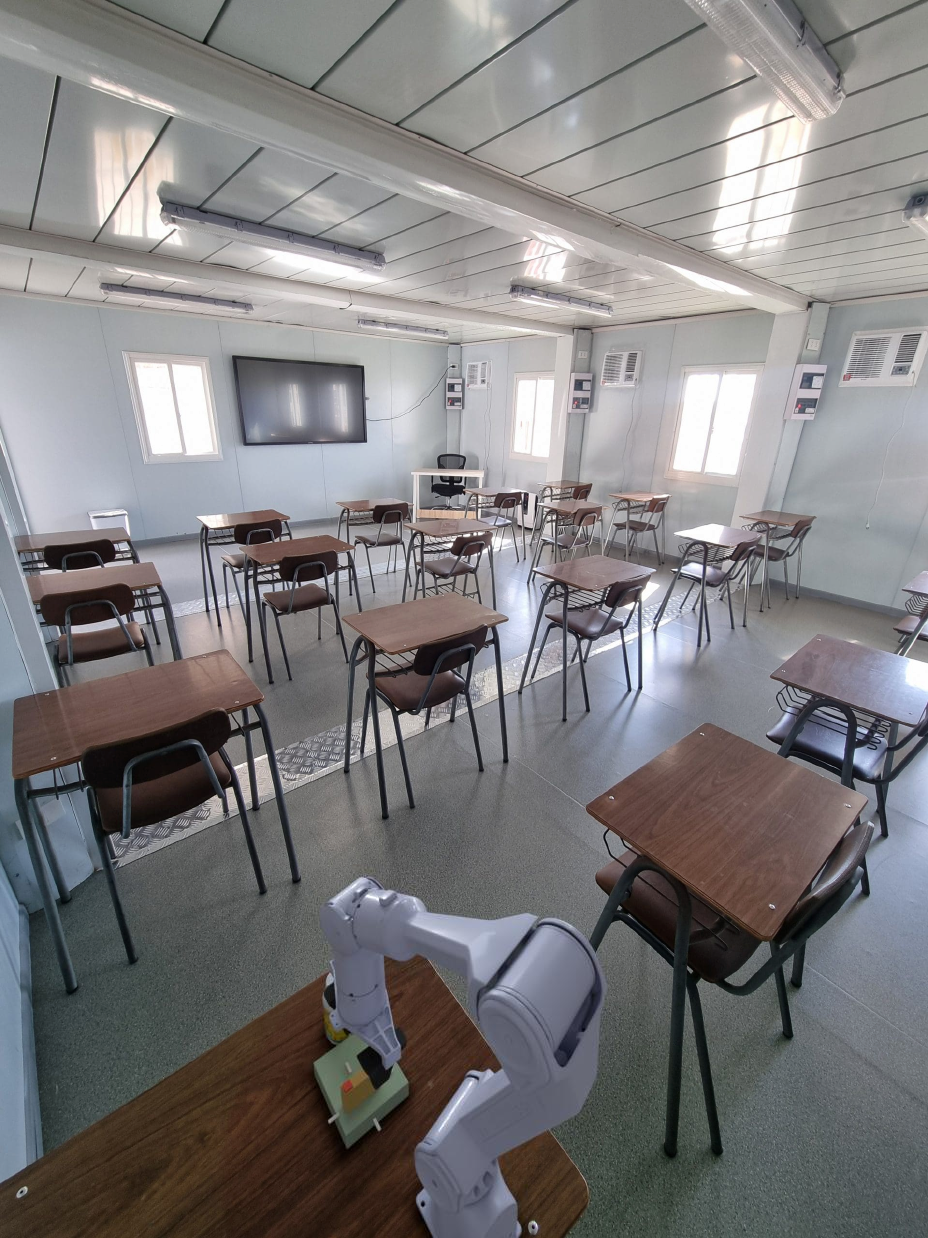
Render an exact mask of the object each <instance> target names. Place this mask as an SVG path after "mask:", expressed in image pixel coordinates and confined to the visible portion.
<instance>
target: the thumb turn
mask: <svg viewBox="0 0 928 1238" xmlns="http://www.w3.org/2000/svg"><path fill="white" fill-rule="evenodd" d="M340 1087H341V1098H342V1106H343V1108H344V1110H345V1112H346V1114H348V1113H349V1112H350V1111H351V1110H352V1109H354V1108H355V1107H356V1106H357V1105H359V1104H360V1103H361V1102H362V1101H363V1100H365V1099H366V1098H367V1097H368V1096H370V1095H371V1094H372V1093H373V1092H374V1091H376V1090H375V1089H374V1087H373V1085H372V1083H371V1081H370V1078H369V1076H368V1075H367V1074H366V1073H365V1072H364V1070H363V1069H362V1070H360V1071H359V1072H358V1073H356V1074H355V1075H354V1076H352V1077H351V1078H350V1079H349V1080H347V1081H346V1082H345V1083H343V1084H342V1085H341V1086H340ZM380 1087H381V1086H380Z"/></svg>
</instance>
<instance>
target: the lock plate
mask: <svg viewBox="0 0 928 1238" xmlns="http://www.w3.org/2000/svg"><path fill="white" fill-rule="evenodd" d="M368 1046H369V1045H368V1044H366V1043H365V1042H364V1041H362V1040H361V1039H360V1038H358V1037H357V1036H356V1035H354V1034H352V1035H351V1036H350V1037H348V1038H347V1039H345V1040H344V1041H343V1042H341V1043H340V1044H339V1045H336V1046H335V1047H333V1048H331V1050H329V1051H328V1052H326V1053H324V1055H322V1056H321V1057H320V1058H318V1059H317V1060H315V1061H314V1062H313V1063H312V1064H313V1073H314V1077H315V1080H316V1081H317V1084H318V1086H319V1088H320V1091H321V1093H322V1094H323V1097H324V1100H325V1102H326V1104H327V1106H328V1109H329V1112H330V1114H331V1116H332V1117H330V1118H329V1119H328V1120H327V1122H328V1124H329V1125H331V1124H332V1123H333V1122H334V1123H335V1125H336V1127H337V1130H338V1132H339V1134H340V1137H341V1139H342V1141H343V1143H344V1145H345V1148H346V1149H349V1148H350V1147H352V1145H354V1144H355V1143H356V1142H357V1141H358V1140H360V1139H361V1138H362V1137H363V1136H364V1135H365V1134H366V1133H367V1132H369V1130H371V1129H372V1128H374V1126H375V1128H376V1129H377V1132H380V1131H381V1130H382V1128H381V1126H380V1123H379V1122H380V1121H381V1120H382V1119H384V1117H386V1116H387V1115H388V1114H389V1113H391V1112H392V1111H393V1110H394V1109H395V1108H396V1107H397V1106H398V1105H399V1104H401V1103H402V1102H403V1101H404V1100H405V1099H406V1098H408V1097H409V1095H410V1091H409V1090H410V1089H409V1086H410V1085H409V1081H408V1079H407V1077H406V1076H405V1074H404V1072H403V1071H402V1069H401V1067H400V1066H399V1064H398V1061H397V1062H396V1063H395V1064H394V1065H393V1068H392V1071H391V1075H390V1078H389V1080H388V1081H386V1082H385V1083H384V1084H383V1085H382V1086H381V1087H379V1088H378V1089H377V1090H376V1091H374V1092H373V1093H372V1094H371V1095H370V1096H368V1097H367V1098H366V1099H365V1100H363V1101H362V1102H361V1103H360V1104H359V1105H357V1106H356V1107H355V1108H354V1109H352V1110H351V1111H350V1112H349V1113H348V1114H346V1112H345V1110H344V1108H343V1106H342V1098H341V1087H340V1086H341V1085H342V1084H343V1083H345V1082H346V1081H347V1080H349V1079H350V1078H351V1077H352V1076H354V1075H355V1074H356V1073H358V1072H359V1071H360V1070H362V1067H361V1065H360V1063H359V1061H358V1059H357V1055H358V1054H359V1053H360V1052H362V1051H363V1050H364V1049H365V1048H367V1047H368Z"/></svg>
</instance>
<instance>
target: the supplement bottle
mask: <svg viewBox="0 0 928 1238" xmlns="http://www.w3.org/2000/svg"><path fill="white" fill-rule="evenodd" d="M333 982H334V978H333V976H332V975H331V973H330V972H329V973H328V975H327V977H326V979H325V988H326V987H327V986H328V985H330V984H331V983H333ZM325 988H324V989H325ZM321 999H322V1008H323V1019H324V1029H325V1035H326V1037H327V1039H328V1040H329V1042H330V1043H331V1044H333V1045H336V1046H337V1045H339V1044H340V1043H341V1042H343V1041H344V1040H345V1039H347V1038H348V1037H350V1036H351V1035H352V1034H353V1033H352V1032H351V1033H350V1034H349V1035H347V1036H346V1035H345V1033H344V1031H343V1029H341V1030H340V1031H338V1032H337V1031H334V1029H333V1027H332V1025H331V1023H330V1020H329V1016H330V1014H331V1013H332V1012H333V1011H334V1009H332V1008H331V1007H330V1006H329V1005H328V1003H327V1001H326V999H325V997H324V991H323V992H322V998H321Z"/></svg>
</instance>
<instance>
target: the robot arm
mask: <svg viewBox="0 0 928 1238" xmlns="http://www.w3.org/2000/svg"><path fill="white" fill-rule="evenodd" d="M427 909H428V908H427V907H426V905H425V903H424V902H423V901H422V900H421V899H419V897H416V896H413V895H408V894H404V893H399V892H397V891H396V890H391V889H388V890H385V888H384V887H383V886H382V885H381V884H380V882H379V881H377V879H375V878H373V877H371V876H367V877H363V876H360V877H358V878H356V879H355V880H354V881H353V882H351V883H350V884H349V885H347V886H346V887H345V888H344V889H342V890H341V891H339V893H337V894H335V896H333V897H332V898H331V899H330V900H328V901H326V902H325V904H324V906H322V907H320V909H319V911H318V920H319V921H318V922H319V925H320V928H321V931H322V933H323V936H324V937H325V939H326V941H327V942H328V943H329V945H330V946H331V947H332V956H333V959H332V960H330V961H329V971H330V972H329V973H331V975H332V976H333V978H334V982H333V983H331V984H330V985H328V986H327V987H326V986H325V987H326V988H324V990H323V992H324V997H325V999H326V1001H327V1003H328V1005H329V1006H330V1007H331V1008H332V1009H334V1011H333V1012H332V1013H331V1014H330V1016H329V1020H330V1023H331V1025H332V1027H333V1029H334V1031H337V1032H338V1031H340V1030H341V1029H343V1031H344V1033H345V1035H346V1036H347V1035H349V1034H350V1033H351V1032H352V1033H353V1034H354V1035H356V1036H357V1037H358V1038H360V1039H361V1040H362V1041H364V1042H365V1043H366V1044H368V1045H369V1046H368V1047H367V1048H365V1049H364V1050H363V1051H362V1052H360V1053H359V1054H358V1055H357V1059H358V1061H359V1063H360V1065H361V1067H362V1069H363V1070H364V1072H365V1073H366V1074H367V1075H368V1076H369V1078H370V1081H371V1083H372V1085H373V1087H374V1089H375V1090H377V1089H378V1088H379V1087H380V1086H382V1085H383V1084H384V1083H385V1082H386V1081H388V1080H389V1078H390V1075H391V1071H392V1068H393V1065H394V1064H395V1063H396V1062H397V1063H398V1061H399V1060H401V1059H402V1051H403V1050H404V1049H405V1048H406V1047H407V1045H408V1044H407V1036H406V1034H405V1032H404V1030H403V1029H402V1027H401V1026H400V1025H398V1026H397V1027H396V1028H395V1027H394V1022H393V1021H394V1020H393V1016H392V1010H391V1005H390V1000H389V995H388V991H387V988H386V973H385V957H387V958H388V959H389V958H390V959H392V960H394V961H397V962H407V961H410V960H411V959H413V958H414V957H415V956H417V955H419V956H421V957H422V958H424V959H427V960H428V961H430V962H432V963H434V964H437V965H438V966H441V967H442V968H444V969H446V970H448V971H450V972H452V973H454V974H456V975H459V976H460V977H462V978H464V979H466V981H467V998H468V999H467V1000H468V1004H469V1008H470V1011H471V1014H472V1017H473V1020H474V1021H475V1022H476V1023H477V1024H480V1028H481V1031H482V1033H483V1036H484V1038H485V1040H486V1042H487V1044H488V1045H489V1047H490V1048H491V1050H492V1052H493V1053H494V1055H495V1057H496V1059H497V1061H498V1064H500V1066H501V1068H500V1069H499V1070H498V1071H496V1072H493V1071H492V1070H491V1069H490V1068H488V1069H486V1070H485V1071H478V1070H475V1069H474V1070H473V1069H472V1070H469V1071H468V1072H467V1073H466V1074H465V1076H464V1079H463V1081H462V1083H461V1084H460V1086H459V1087H458V1089H457V1090H456V1091H455V1093H454V1094H453V1096H452V1097H451V1099H449V1102H448V1103H447V1105H446V1106H445V1107H444V1109H443V1110H442V1112H441V1113H440V1115H439V1116H438V1118H437V1119H436V1120H435V1122H434V1124H433V1125H432V1126H431V1128H430V1129H429V1131H428V1132H427V1134H426V1135H425V1136H424V1138H423V1139H422V1141H420V1142H419V1143H417V1145H416V1147H415V1148H414V1150H413V1157H414V1166H415V1167H414V1168H415V1172H416V1174H417V1176H418V1179H419V1181H420V1183H421V1185H422V1187H423V1189H422V1190H421V1191H420V1192H419V1193H418V1194H417V1196H416V1197H415V1203H416V1207H417V1208H418V1210H419V1212H420V1214H421V1216H422V1218H423V1220H424V1222H425V1225H426V1226H427V1229H428V1230H429V1232H430V1235H431V1236H432V1238H520V1237H521V1236H522V1226H521V1223H519V1221H518V1212H519V1206H518V1203H517V1201H516V1199H515V1197H514V1196H513V1194H512V1193H511V1191H510V1189H509V1188H508V1186H507V1184H506V1182H505V1180H504V1177H503V1175H502V1172H501V1168H500V1164H499V1160H498V1158H499V1157H500V1156H503V1155H504V1154H506V1153H508V1152H509V1151H511V1150H513V1149H515V1148H517V1147H519V1146H521V1145H522V1144H525V1143H527V1142H528V1141H531V1140H532V1139H534V1138H536V1137H538V1136H540V1135H542V1134H544V1133H545V1132H547V1131H549V1130H551V1129H553V1128H555V1127H556V1126H558V1125H560V1124H562V1123H564V1122H566V1121H567V1120H570V1119H572V1118H573V1117H575V1116H578V1114H579V1113H580V1112H581V1110H582V1108H583V1106H584V1104H585V1102H586V1100H587V1099H588V1096H589V1094H590V1092H591V1089H592V1087H593V1085H594V1082H595V1081H596V1078H598V1077H597V1076H598V1069H599V1068H598V1065H599V1048H600V1029H601V1027H600V1025H601V1015H602V1010H603V1007H604V1004H605V999H606V996H607V992H608V983H607V979H606V977H605V974H604V972H603V969H602V966H601V963H600V960H599V958H598V956H597V954H596V951H595V949H594V948H593V946H592V945H591V943H590V942H589V940H588V939H587V938H586V937H585V935H583V933H582V932H581V931H579V930H578V929H577V928H576V927H574V926H573V925H571V924H570V923H568V922H567V921H564V920H562V919H559V918H556V917H545V918H542V919H541V920H540V921H538V922H537V920H538V919H539V916H537V915H534V914H532V913H528V912H525V913H520V914H516V915H511V916H507V917H502V918H498V919H489V920H488V919H482V918H481V919H480V918H475V917H474V918H473V917H465V916H458V915H450V914H442V913H434V912H428V910H427ZM536 922H537V924H536V925H535V926H534V924H535V923H536ZM422 1204H424V1206H422Z"/></svg>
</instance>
